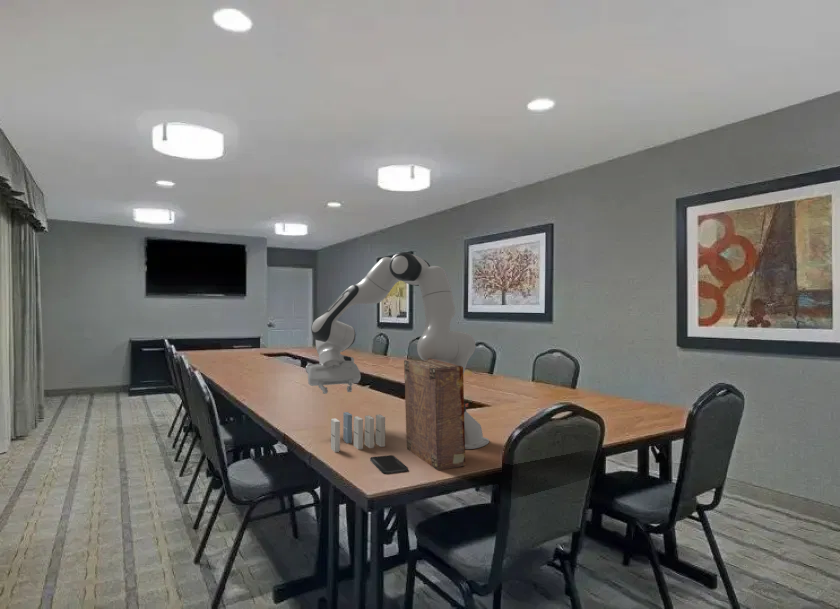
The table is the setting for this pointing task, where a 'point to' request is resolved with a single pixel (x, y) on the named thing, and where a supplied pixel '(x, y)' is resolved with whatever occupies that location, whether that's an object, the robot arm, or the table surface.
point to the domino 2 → (347, 427)
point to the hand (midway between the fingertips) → (337, 391)
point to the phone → (388, 464)
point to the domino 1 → (335, 435)
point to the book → (435, 412)
